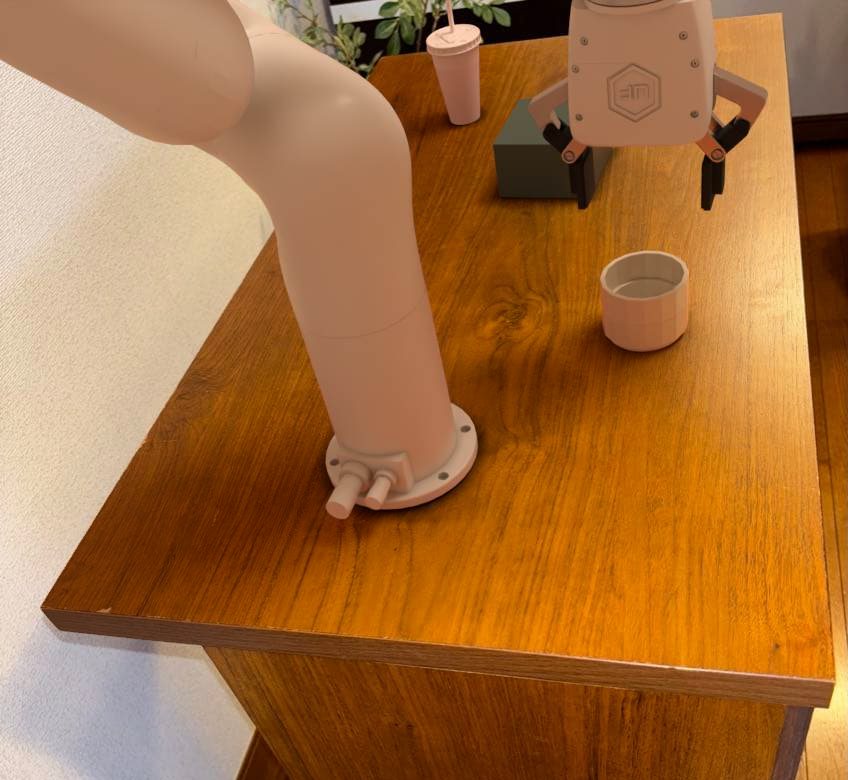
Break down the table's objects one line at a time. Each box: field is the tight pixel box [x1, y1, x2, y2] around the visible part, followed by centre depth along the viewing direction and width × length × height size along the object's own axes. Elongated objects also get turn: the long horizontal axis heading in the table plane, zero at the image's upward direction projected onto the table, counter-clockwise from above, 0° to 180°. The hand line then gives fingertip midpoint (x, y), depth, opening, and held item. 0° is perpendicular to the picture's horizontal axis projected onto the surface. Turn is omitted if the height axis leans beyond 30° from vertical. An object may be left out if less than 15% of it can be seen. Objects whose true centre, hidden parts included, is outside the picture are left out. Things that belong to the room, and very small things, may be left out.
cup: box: [599, 250, 690, 352], centre depth 84 cm, size 7×7×6 cm
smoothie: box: [425, 0, 482, 126], centre depth 115 cm, size 6×6×14 cm
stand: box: [492, 98, 613, 199], centre depth 105 cm, size 10×10×6 cm
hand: (646, 200), depth 78 cm, fingers open, 9 cm apart
